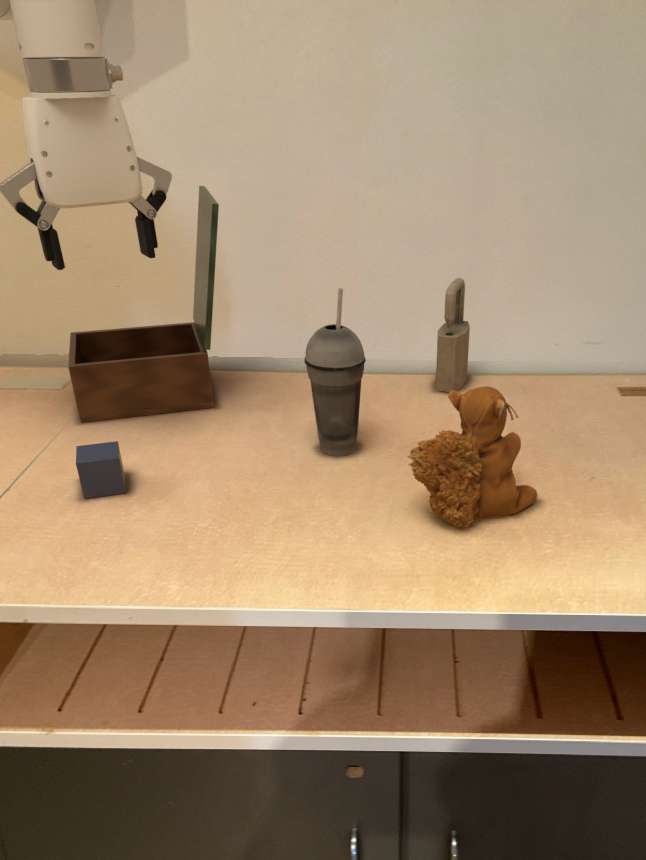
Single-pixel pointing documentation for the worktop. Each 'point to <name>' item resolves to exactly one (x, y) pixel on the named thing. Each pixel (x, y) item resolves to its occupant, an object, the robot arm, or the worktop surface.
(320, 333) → the beverage cup
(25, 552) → the worktop surface
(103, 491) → the block
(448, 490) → the stuffed squirrel
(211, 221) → the lid
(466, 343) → the padlock
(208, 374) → the chest
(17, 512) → the worktop surface
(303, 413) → the worktop surface
